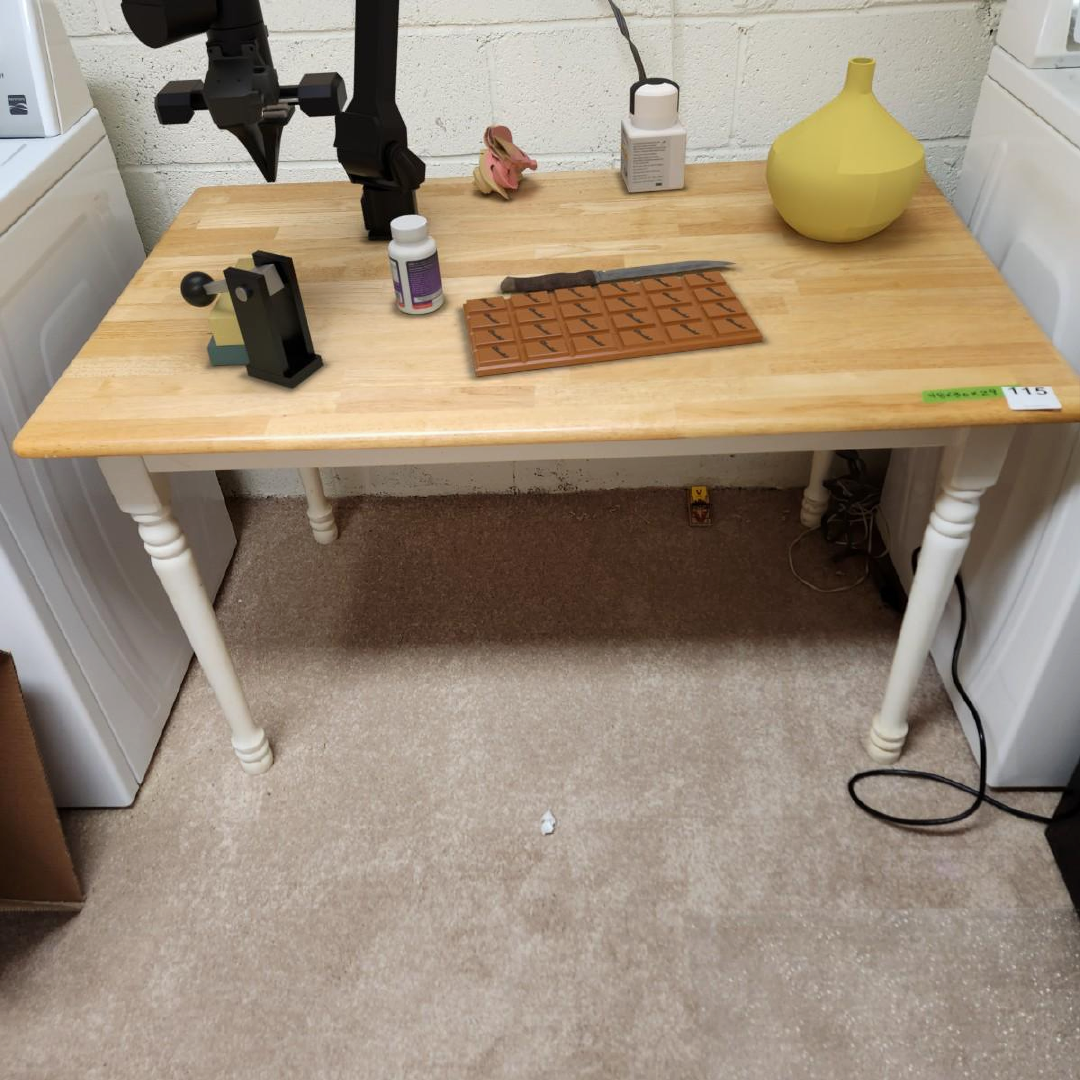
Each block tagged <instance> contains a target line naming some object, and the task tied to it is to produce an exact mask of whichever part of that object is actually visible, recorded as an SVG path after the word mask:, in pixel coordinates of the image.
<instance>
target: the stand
mask: <svg viewBox="0 0 1080 1080" xmlns="http://www.w3.org/2000/svg"><path fill="white" fill-rule="evenodd" d="M251 258H253V261H254V265H255V266H262V265H270V264H274V266H275V268H276V270H277V272H278V274H279V276H280V278H281V281H282V283H283V285H284V288H282V289H281V290H279V291H277V292H276V293H274V294H273V295H271V296H270V295H269V291H268V287H267V283H266V279H265V276H264V275H263V274H258V273H254V272H250V271H246V270H242V269H238V268H234V267H235V266H234V267H233V266H228V267H227V268H225V269H223V270H222V273H223V277H224V280H226V284H227V287H228V290H229V294H230V297H231V301H232V304H233V307H234V311H235V314H236V317H237V321H238V324H239V328H240V331H241V334H242V338H243V341H244V344H245V348H246V351H247V354H248V358H249V361H250V363H248V364H245V369H246V372H247V375H248V376H250V377H252V378H256V379H259V380H263V381H266V382H270V383H273V384H276V385H279V386H283V387H286V388H290V389H294V388H295V387H297V386H298V385H299V384H301V383H302V382H303V381H304V380H306V379H307V378H308V377H310V376H311V375H313V374H314V373H315V372H316V371H318V370H320V369H321V367H323V366H324V361H323V357H322V355H321V354H318V353H316V351H315V347H314V343H313V339H312V335H311V330H310V327H309V323H308V318H307V314H306V310H305V306H304V302H303V297H302V293H301V288H300V284H299V281H298V277H297V272H296V268H295V264H294V260H293V257H291V256H286V255H282V254H277V253H275V252H274V253H273V252H270V251H265V250H261V249H257V250H256V251H254V252H252V253H251Z"/></svg>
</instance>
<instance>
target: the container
mask: <svg viewBox="0 0 1080 1080" xmlns="http://www.w3.org/2000/svg"><path fill="white" fill-rule="evenodd" d="M679 107H680V86H679V84H678V83H677V82H676V81H674V80H671V79H669V78H665V77H647V78H642V79H639V80H638V81H636V82H634V83H632V85H631V86H630V87H629V109H628V111H629V114H628V115H629V116H623V117H622V118H621V120H620V174H621V177H622V178H623V182H624V184H625V186H626V189H627V192H629V193H630V194H631V193H633V194H634V193H646V192H656V191H657V192H658V191H669V190H680V189H681V190H682V189H683V188H684V185H685V171H686V154H687V153H686V152H687V138H688V137H687V135H688V132H687V130H686V128H685V126H684V125H683V123H682V122H681V120H680V118H679Z"/></svg>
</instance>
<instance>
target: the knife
mask: <svg viewBox="0 0 1080 1080" xmlns="http://www.w3.org/2000/svg"><path fill="white" fill-rule="evenodd" d="M736 264H738V263H737V262H731V261H724V260H684V261H676V262H667V263H658V264H650V265H642V266H633V267H632V266H631V267H624V268H616V269H607V270H605V271H603V270H595V269H585V270H581V271H577V272H565V271H564V272H553V273H546V274H542V275H535V276H527V277H519V276H518V277H516V276H506V277H505V278H504V279H503V280H502V281H501V283H500V291H501V292H508V293H509V292H541V291H547V292H551V291H552V292H554V290H559V289H567V288H576V287H584V286H591V287H592V286H595V285H599V284H600V283H601V282H607V281H616V280H617V281H618V280H624V279H633V278H640V277H641V278H642V277H649V276H659V275H667V274H674V273H682V272H689V271H698V270H704V269H711V268H717V267H724V266H731V265H736Z"/></svg>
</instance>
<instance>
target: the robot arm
mask: <svg viewBox="0 0 1080 1080" xmlns="http://www.w3.org/2000/svg"><path fill="white" fill-rule="evenodd" d="M354 2H355V3H354V9H355V10H354V46H353V47H354V49H353V50H354V51H353V90H352V91H353V92H352V98H351V100H350V101H349V103H348V105H347V106H346V109H345V110H343V109H344V108H345V105H346V103H347V100H348V93H347V88H346V83H345V80H344V78H343V76H342V75H340V73H339V72H338V71H328V72H327V71H326V72H325V71H324V72H310V73H309V72H307V73H304V75H303V76H302V78H301V80H300V81H299V83H298V84H285V85H283V84H282V85H280V82H279V75H278V72H277V68H275V66H274V60H273V57H272V52H271V48H270V47H271V46H270V44H269V43H270V42H269V39H268V38H269V37H270V34H269V30H268V25H267V24H265V21H264V16H263V11H262V7H261V3H260V0H121V2H120V5H119V6H120V8H121V13H122V15H123V18H124V20H125V22H126V24H127V26H128V28H129V30H130V31H131V32H132V33H133V35H134V37H136V38H137V40H138V41H139V42H140V43H142V44H143V45H144V46H146V47H148V48H150V49H152V50H153V49H154V50H157V49H162V48H164V47H167V46H170V45H173V44H176V43H179V42H182V41H184V40H187V39H192V38H193V37H196V36H199V35H202V34H206V38H207V40H206V41H205V42H204V44H205V47H206V54H207V58H208V60H207V61H208V62H207V70H206V73H205V77H204V81H203V80H202V79H200V78H199V79H181V80H168V82H167V83H166V84H165V85H164V86H163V87H162V88H161V89H160V90H159V92H157V94H156V95H155V97H154V99H153V103H154V105H153V106H154V110H155V114H156V117H157V120H158V123H159V125H162V126H171V125H172V126H175V125H189V124H190V122H191V120H192V119H193V117H194V116H195V115H196V112H198V111H208V112H209V114H210V117H211V119H212V122H213V124H214V125H215V126H216V127H217V129H218V130H220V131H227V132H229V133H230V134H232V135H233V136H235V137H236V138H237V140H238V141H239V142H240V143H241V144H242V146H243V147H244V148H245V150H246V151H247V153H248V154H249V156H250V157H251V159H252V160H253V163H254V164H255V165H256V167H257V169H258V170H259V172H260V173H261V175H262V176H263V179H264V180H265V181H266V183H268V184H270V183H271V184H273V183H276V181H277V177H278V169H279V160H280V150H281V142H282V135H283V131H284V127H286V126H288V125H289V123H290V121H291V120H292V118H293V116H294V114H295V113H296V111H297V110H296V106H299V110H300V111H301V112H303V113H304V114H305V115H306V116H307V117H308V118H319V117H320V118H321V117H334V130H335V132H334V133H335V134H334V140H333V144H332V147H333V148H335V149H336V157H337V158H336V159H337V161H338V164H341V166H342V168H343V170H344V172H345V173H346V175H347V177H348V180H349V181H350V183H351V184H353V185H361V186H362V194H361V197H360V200H359V202H360V207H361V214H362V220H363V223H364V225H363V226H364V230H365V231H367V232H368V233H367V239H368V240H369V241H381V240H382V241H383V240H393V237H392V231H391V222H392V221H393V220H394V219H396V218H398V217H401V216H405V215H420V216H422V215H421V214H420V213H419V208H418V207H419V206H418V200H417V194H416V190H419V189H421V184H423V183H425V181H426V171H427V170H426V169H427V165H426V163H425V162H424V161H423V160H422V159H421V158H420V157H418V155H417V154H415V152H413V151H412V150H411V148H409V144H408V141H409V140H408V128H407V125H406V123H405V120H404V118H403V116H402V113H401V112H400V109H399V107H398V105H397V102H396V93H397V92H396V91H397V72H398V71H397V69H398V68H397V66H398V45H399V23H400V22H399V21H400V0H355V1H354Z"/></svg>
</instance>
